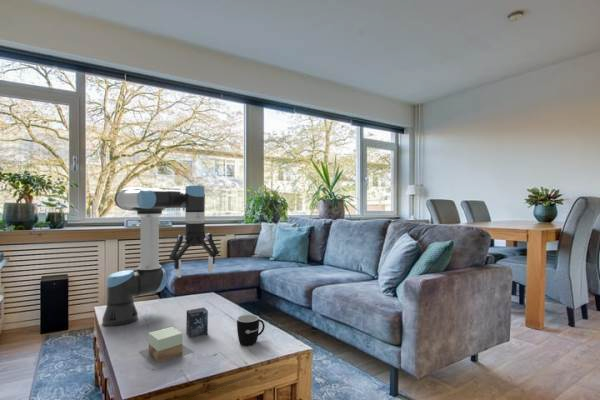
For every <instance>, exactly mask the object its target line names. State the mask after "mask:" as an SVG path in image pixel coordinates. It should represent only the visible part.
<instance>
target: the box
mask: <svg viewBox="0 0 600 400" xmlns="http://www.w3.org/2000/svg"><path fill="white" fill-rule="evenodd" d="M208 315H209V312H208V309H206V307H200V308H194V309H188V310H186V320H185V321H186V327H185V328H186V330H185V331H186V335H187V336H188V338H189V339H191V338H195V337H199V336H203V335H204V336H208V335H209V334H208V332H209V331H208V330H209V329H208V328H209V325H208V324H209V316H208Z"/></svg>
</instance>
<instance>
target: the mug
mask: <svg viewBox="0 0 600 400" xmlns="http://www.w3.org/2000/svg"><path fill="white" fill-rule="evenodd" d="M260 323H261V324H262V329H261V330H260V329H259V328H260ZM265 325H266V324H265V322H264V321H263V320H261V319H260V316H258V315H256V314H243V315H239V316H238V317H237V318H236V331H237V337H238V342H239V345H241V346H243V347H250V346H251V347H252V346H254V345H256V343H257V341H258V337H259V336H260V335H262V334H263V332H264V330H265V328H266V327H265ZM259 330H260V332H259Z"/></svg>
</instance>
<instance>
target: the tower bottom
mask: <svg viewBox="0 0 600 400" xmlns="http://www.w3.org/2000/svg"><path fill="white" fill-rule="evenodd" d="M183 345H184V344H180V345H177V346H174V347H171V348H167V349H164V350H161V351H157V350H156V349H155V348H153V347H152V346H151V345H150V344H149V343H148V349H149V355H150V356H151V357H152V358H153V359H155V360H156V361H157V362H158V363H159V362H162V361H165V360H167V359H170V358H173V357H176V356H179V355H182V354H183Z"/></svg>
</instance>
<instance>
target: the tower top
mask: <svg viewBox="0 0 600 400" xmlns="http://www.w3.org/2000/svg"><path fill="white" fill-rule="evenodd" d="M183 335H184V334H183V332H182V331H180V330H178V329H177V328H175V327H173V326H170V327H169V326H168V327H166V328H162V329H158V330H156V331H150V332H148V345H149V344H150V345H151V346H152V347H153V348H155V349H156V350H157V351H161V350H164V349H167V348H171V347H174V346H177V345H180V344H183V341H184V340H183ZM183 345H184V344H183Z"/></svg>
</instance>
